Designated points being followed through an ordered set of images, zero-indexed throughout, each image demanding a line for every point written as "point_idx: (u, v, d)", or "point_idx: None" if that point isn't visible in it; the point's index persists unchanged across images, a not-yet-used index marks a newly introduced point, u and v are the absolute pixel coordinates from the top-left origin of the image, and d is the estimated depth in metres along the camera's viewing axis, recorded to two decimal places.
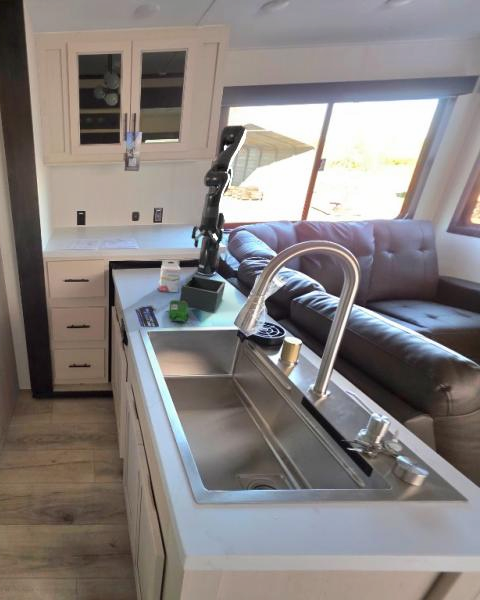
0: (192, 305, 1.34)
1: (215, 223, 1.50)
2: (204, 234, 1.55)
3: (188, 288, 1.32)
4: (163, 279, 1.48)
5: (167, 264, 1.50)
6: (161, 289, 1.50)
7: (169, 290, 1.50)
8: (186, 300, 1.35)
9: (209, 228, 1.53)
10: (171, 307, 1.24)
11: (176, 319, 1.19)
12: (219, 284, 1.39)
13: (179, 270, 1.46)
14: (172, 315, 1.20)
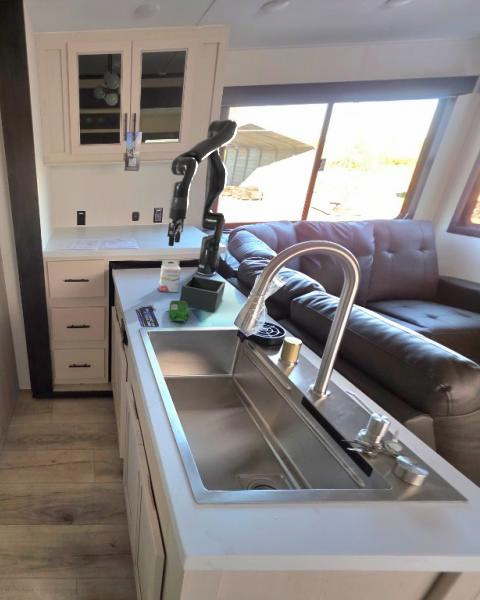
0: (192, 305, 1.34)
1: (171, 215, 1.37)
2: None
3: (188, 288, 1.32)
4: (163, 279, 1.48)
5: (167, 264, 1.50)
6: (161, 289, 1.50)
7: (169, 290, 1.50)
8: (186, 300, 1.35)
9: None
10: (171, 307, 1.24)
11: (176, 319, 1.19)
12: (219, 284, 1.39)
13: (179, 270, 1.46)
14: (172, 315, 1.20)
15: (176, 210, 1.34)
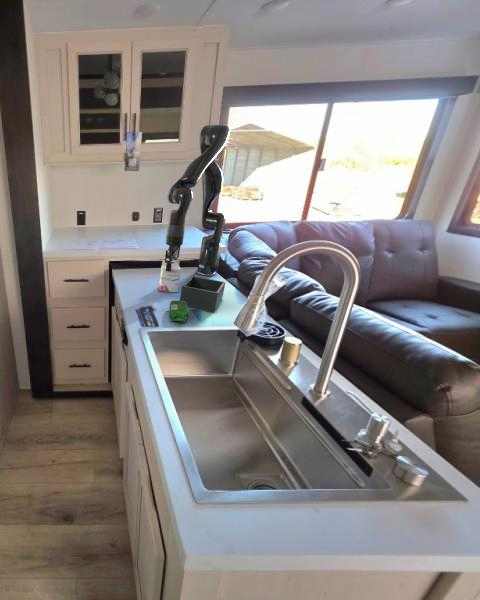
0: (192, 305, 1.34)
1: (168, 241, 1.41)
2: None
3: (188, 288, 1.32)
4: (163, 279, 1.48)
5: None
6: (161, 289, 1.50)
7: (169, 290, 1.50)
8: (186, 300, 1.35)
9: None
10: (171, 307, 1.24)
11: (176, 319, 1.19)
12: (219, 284, 1.39)
13: (179, 270, 1.46)
14: (172, 315, 1.20)
15: (173, 237, 1.39)
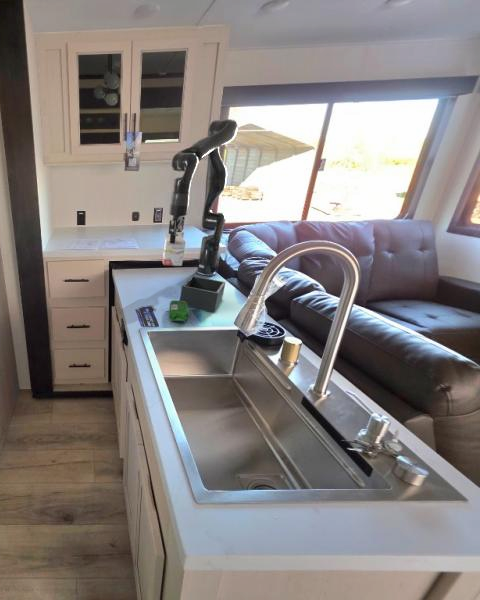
0: (192, 305, 1.34)
1: (172, 211, 1.36)
2: None
3: (188, 288, 1.32)
4: (167, 252, 1.43)
5: None
6: (165, 263, 1.45)
7: (173, 263, 1.45)
8: (186, 300, 1.35)
9: None
10: (171, 307, 1.24)
11: (176, 319, 1.19)
12: (219, 284, 1.39)
13: (183, 242, 1.40)
14: (172, 315, 1.20)
15: (177, 206, 1.33)
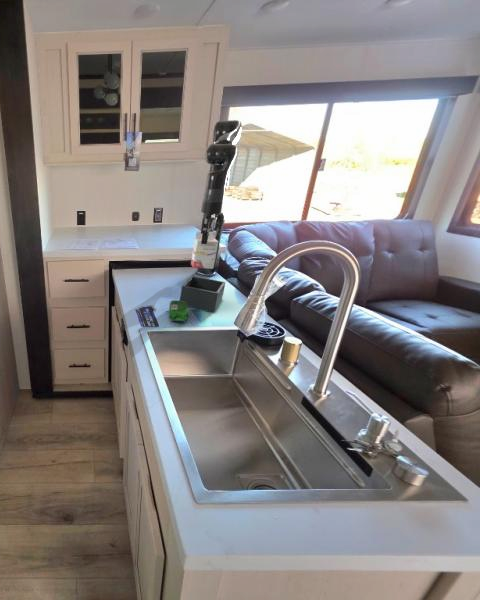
0: (192, 305, 1.34)
1: (205, 209, 1.23)
2: None
3: (188, 288, 1.32)
4: (197, 253, 1.30)
5: (201, 236, 1.32)
6: (194, 265, 1.33)
7: (203, 266, 1.32)
8: (186, 300, 1.35)
9: None
10: (171, 307, 1.24)
11: (176, 319, 1.19)
12: (219, 284, 1.39)
13: (216, 243, 1.28)
14: (172, 315, 1.20)
15: (211, 203, 1.21)
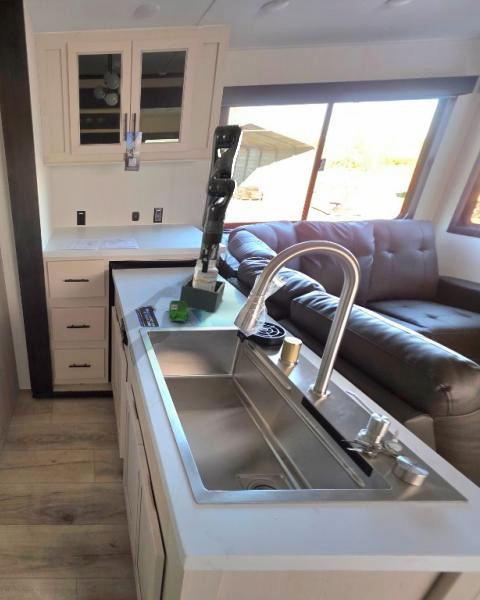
0: (192, 305, 1.34)
1: (205, 239, 1.26)
2: None
3: (188, 288, 1.32)
4: (198, 281, 1.34)
5: (202, 264, 1.35)
6: None
7: None
8: (186, 300, 1.35)
9: None
10: (171, 307, 1.24)
11: (176, 319, 1.19)
12: (219, 284, 1.39)
13: (216, 271, 1.31)
14: (172, 315, 1.20)
15: (211, 234, 1.24)
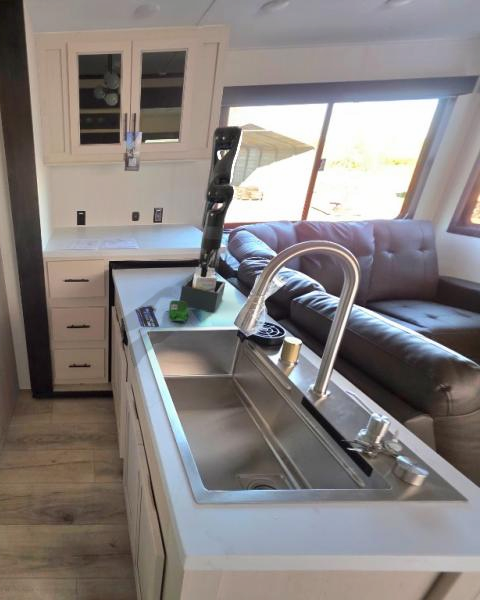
0: (192, 305, 1.34)
1: (204, 245, 1.27)
2: None
3: (188, 288, 1.32)
4: None
5: (200, 272, 1.36)
6: None
7: None
8: (186, 300, 1.35)
9: None
10: (171, 307, 1.24)
11: (176, 319, 1.19)
12: (219, 284, 1.39)
13: (215, 279, 1.32)
14: (172, 315, 1.20)
15: (210, 240, 1.25)
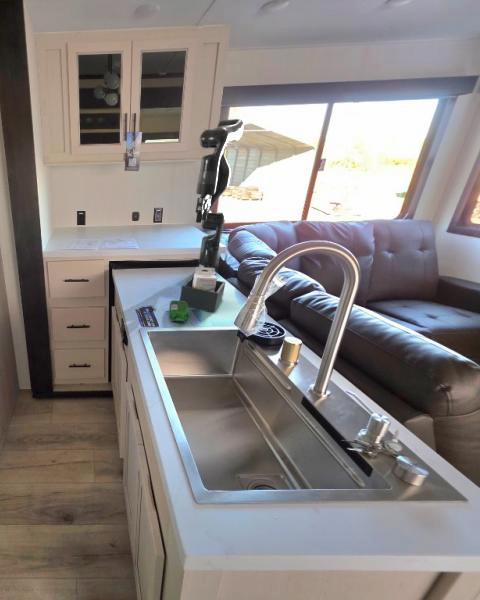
0: (192, 305, 1.34)
1: (199, 190, 1.32)
2: None
3: (188, 288, 1.32)
4: None
5: (200, 272, 1.36)
6: None
7: None
8: (186, 300, 1.35)
9: None
10: (171, 307, 1.24)
11: (176, 319, 1.19)
12: (219, 284, 1.39)
13: (215, 279, 1.32)
14: (172, 315, 1.20)
15: (205, 185, 1.30)
